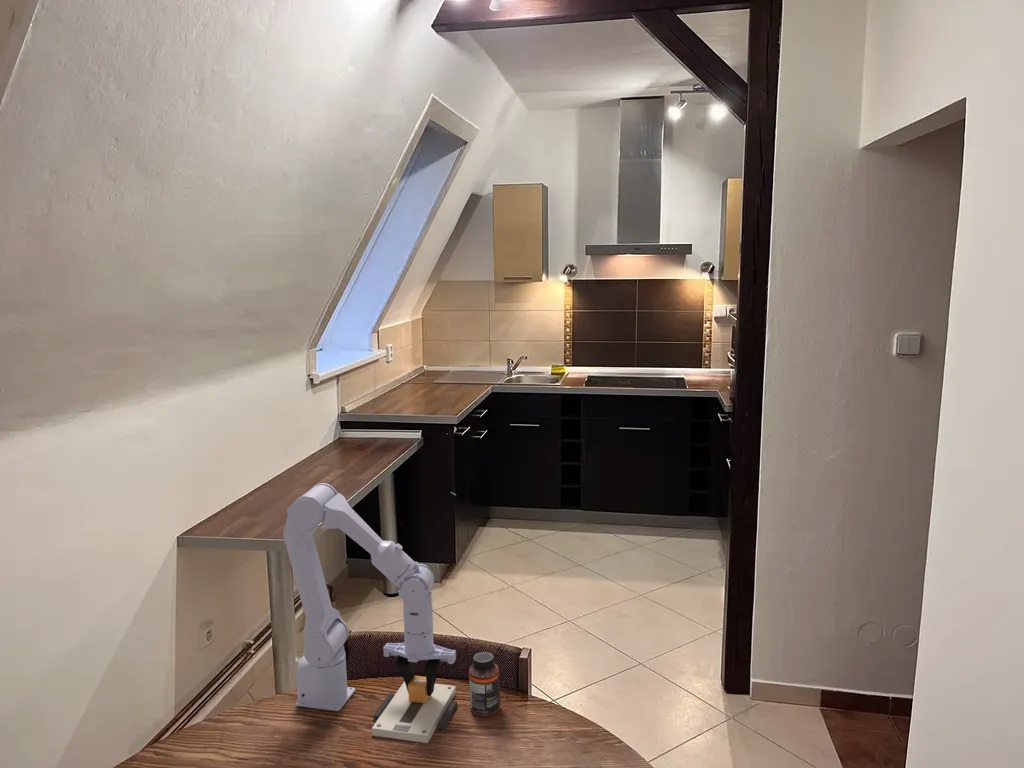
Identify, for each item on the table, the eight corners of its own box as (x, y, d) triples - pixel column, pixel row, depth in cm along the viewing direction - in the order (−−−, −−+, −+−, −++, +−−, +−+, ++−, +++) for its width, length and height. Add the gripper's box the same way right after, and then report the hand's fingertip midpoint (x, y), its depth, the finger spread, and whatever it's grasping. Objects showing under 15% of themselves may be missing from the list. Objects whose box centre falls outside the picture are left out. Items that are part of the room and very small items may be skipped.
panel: (372, 735, 142) (371, 727, 142) (405, 686, 158) (405, 679, 158) (427, 743, 139) (427, 735, 139) (455, 692, 156) (455, 685, 155)
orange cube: (408, 701, 150) (408, 684, 149) (415, 691, 153) (414, 675, 152) (425, 703, 149) (424, 686, 148) (431, 693, 152) (430, 677, 152)
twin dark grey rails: (373, 720, 146) (373, 715, 146) (389, 697, 154) (389, 693, 154) (444, 729, 143) (444, 724, 143) (457, 706, 151) (456, 701, 151)
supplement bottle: (483, 697, 154) (482, 645, 152) (506, 708, 150) (505, 654, 148) (463, 711, 149) (462, 657, 147) (486, 722, 145) (485, 667, 144)
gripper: (376, 633, 147) (379, 698, 149) (447, 641, 144) (449, 707, 146) (390, 617, 154) (392, 679, 156) (458, 624, 150) (460, 687, 152)
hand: (420, 691), depth 151 cm, fingers closed on orange cube, 3 cm apart
